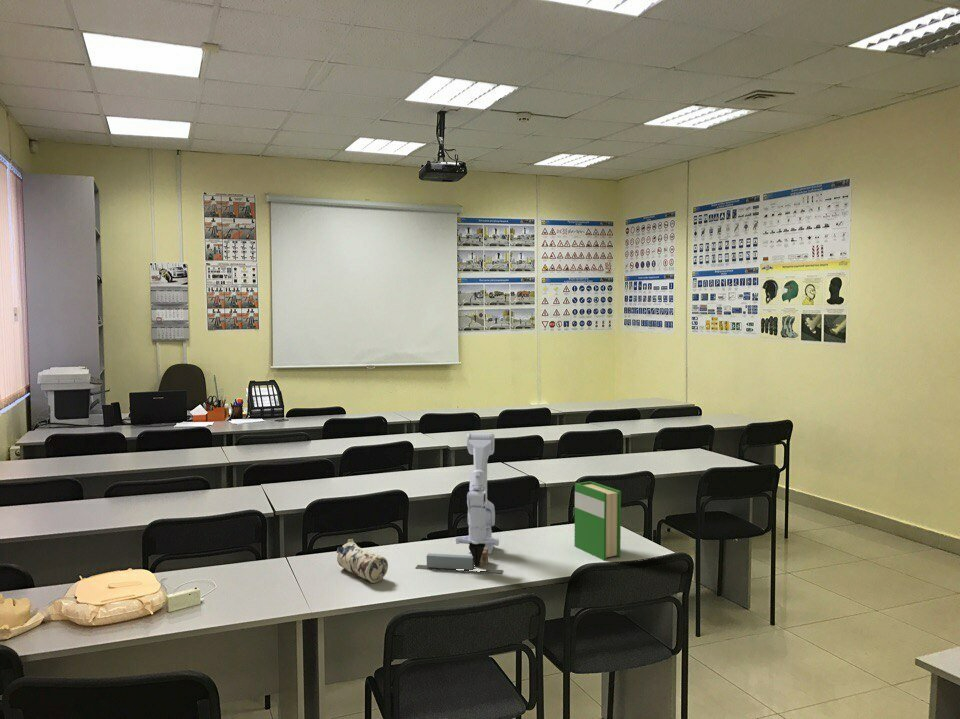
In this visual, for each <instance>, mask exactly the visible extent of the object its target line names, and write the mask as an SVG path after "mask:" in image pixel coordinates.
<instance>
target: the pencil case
mask: <svg viewBox="0 0 960 719" xmlns="http://www.w3.org/2000/svg"><path fill="white" fill-rule="evenodd" d="M336 554H337V557H336V559H337V560H336V562H337V564H338V565H339V566H340V567H342V568H343V569H344V570H346V571H348V572H350V573H352V574H353V575H356V576H357V577H359V578H362V579H364V580H366V581H369V582H370V583H372V584H376V583H378V582H379V581H381V580H383V579H384V577H385V576H386V574H387V572H388V569H389V563H388V560H387V558H386V557H384V556H381V555H379V554H376V553H375V554H374V553H372V552H369V551H368V550H365V549H363V548H362V547H360V546H358V544H357V543H355V542H354V538H350V539H347V542H346V543H345V544H343V545H342V547H340V546H338V547H337V550H336Z"/></svg>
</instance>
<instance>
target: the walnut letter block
mask: <svg viewBox="0 0 960 719" xmlns="http://www.w3.org/2000/svg"><path fill="white" fill-rule="evenodd" d="M488 563H489V554H488V548H484V550H483V552H482V555H481V559H480V565H479V566H478V567H484V566H486V567H487V565H488ZM474 565H475V563H474Z"/></svg>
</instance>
